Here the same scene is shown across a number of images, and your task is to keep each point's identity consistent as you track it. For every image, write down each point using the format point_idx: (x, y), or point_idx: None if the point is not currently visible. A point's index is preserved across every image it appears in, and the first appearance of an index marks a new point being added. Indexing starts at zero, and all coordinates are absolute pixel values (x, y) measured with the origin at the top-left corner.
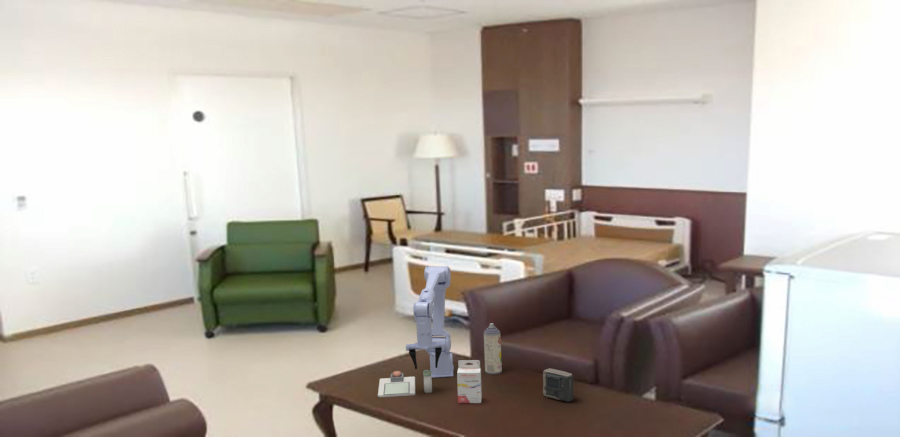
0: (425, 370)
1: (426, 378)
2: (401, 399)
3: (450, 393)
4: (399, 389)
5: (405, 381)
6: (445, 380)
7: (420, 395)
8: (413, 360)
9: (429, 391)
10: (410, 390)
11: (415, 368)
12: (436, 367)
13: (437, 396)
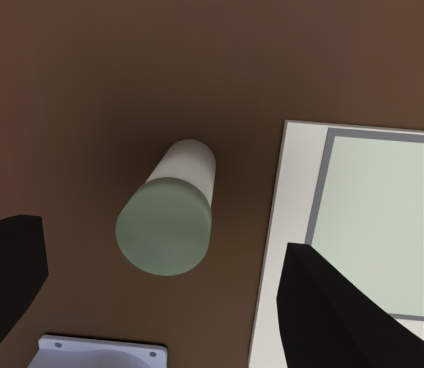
0: (180, 259)
1: (185, 175)
2: (398, 60)
3: (41, 89)
4: (381, 211)
5: None
6: (83, 297)
7: (249, 105)
8: (404, 332)
9: (182, 142)
10: (310, 179)
11: (310, 247)
12: (23, 216)
13: (131, 53)
